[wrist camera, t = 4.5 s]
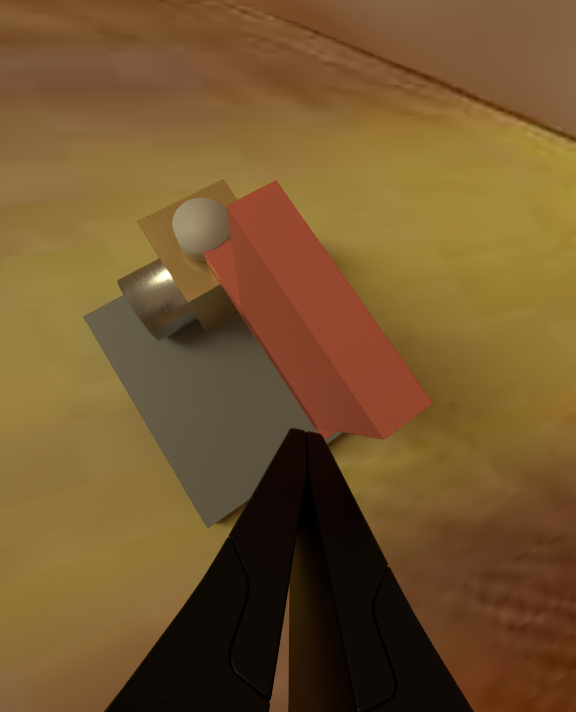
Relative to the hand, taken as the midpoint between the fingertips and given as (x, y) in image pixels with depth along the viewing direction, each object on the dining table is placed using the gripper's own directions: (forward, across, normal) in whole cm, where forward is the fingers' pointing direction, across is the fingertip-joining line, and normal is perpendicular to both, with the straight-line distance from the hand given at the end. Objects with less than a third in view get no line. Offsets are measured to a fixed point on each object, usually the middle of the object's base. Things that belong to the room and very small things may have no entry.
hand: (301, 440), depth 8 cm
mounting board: (+10, +3, +5) cm, 12 cm away
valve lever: (+6, +2, 0) cm, 7 cm away
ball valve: (+12, +5, +2) cm, 13 cm away
